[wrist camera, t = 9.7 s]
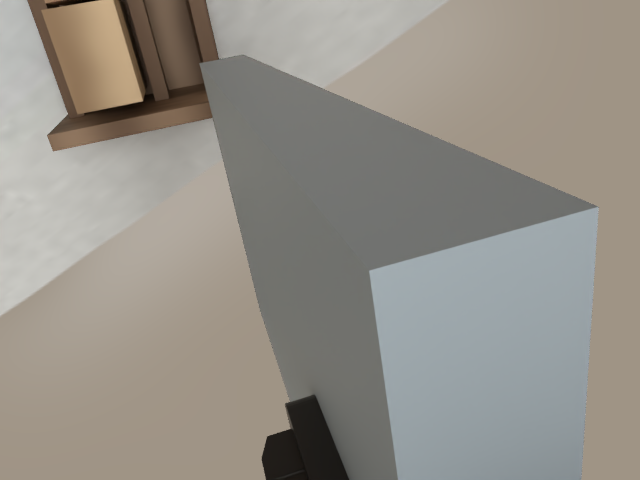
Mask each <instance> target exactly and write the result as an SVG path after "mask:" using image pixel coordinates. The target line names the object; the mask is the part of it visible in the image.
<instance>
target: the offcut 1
mask: <svg viewBox="0 0 640 480" xmlns="http://www.w3.org/2000/svg"><path fill="white" fill-rule="evenodd" d="M44 1H45V3H47V4H55V5H63V6H68V5H74V4H80V3H86V2H93V1H99V0H44Z"/></svg>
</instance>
